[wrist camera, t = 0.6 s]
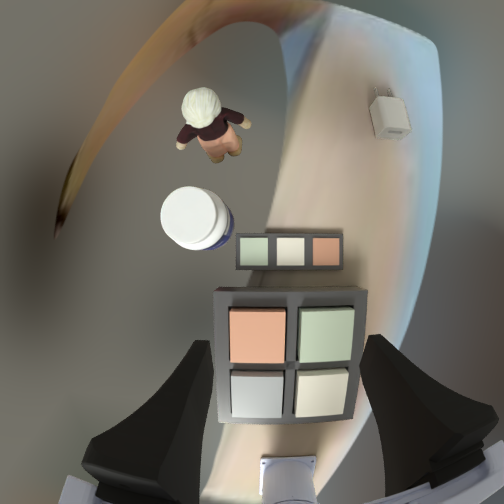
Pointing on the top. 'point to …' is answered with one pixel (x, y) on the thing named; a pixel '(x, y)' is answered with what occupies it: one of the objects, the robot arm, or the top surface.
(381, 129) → the usb wall charger
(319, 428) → the top surface
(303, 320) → the sage key
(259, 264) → the strip
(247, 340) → the terracotta key
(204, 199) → the pill bottle
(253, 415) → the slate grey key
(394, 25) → the top surface
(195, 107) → the grandmother figurine
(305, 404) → the ivory key
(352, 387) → the keyguard pad
